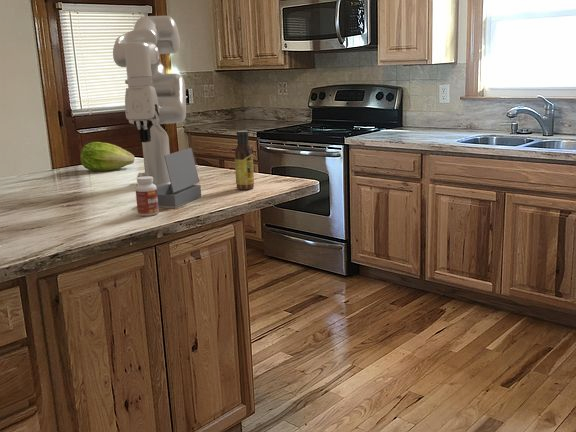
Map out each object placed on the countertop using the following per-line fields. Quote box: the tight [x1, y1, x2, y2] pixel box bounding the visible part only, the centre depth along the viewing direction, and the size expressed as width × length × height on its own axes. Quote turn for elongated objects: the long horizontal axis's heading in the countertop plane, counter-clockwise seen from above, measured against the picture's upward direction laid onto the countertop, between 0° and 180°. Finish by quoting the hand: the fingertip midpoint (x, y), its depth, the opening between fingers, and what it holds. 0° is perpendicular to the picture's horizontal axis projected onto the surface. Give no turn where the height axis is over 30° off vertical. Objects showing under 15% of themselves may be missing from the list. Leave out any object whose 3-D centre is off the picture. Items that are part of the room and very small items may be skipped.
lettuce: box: [80, 141, 136, 172], centre depth 261 cm, size 13×22×14 cm
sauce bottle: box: [234, 130, 255, 191], centre depth 212 cm, size 7×6×20 cm
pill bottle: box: [135, 176, 160, 217], centre depth 183 cm, size 6×6×11 cm
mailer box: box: [157, 184, 202, 209], centre depth 199 cm, size 12×16×4 cm
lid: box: [164, 147, 200, 193], centre depth 195 cm, size 12×16×1 cm
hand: (145, 141), depth 197 cm, fingers closed
